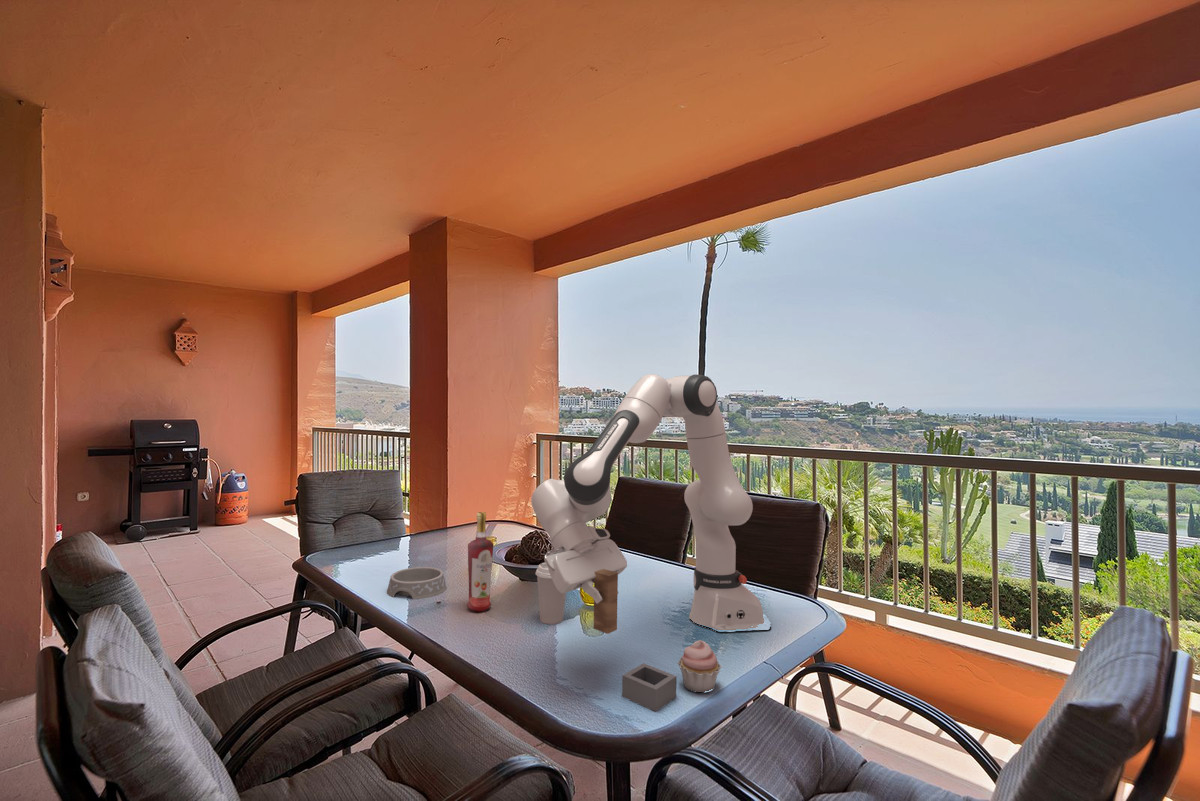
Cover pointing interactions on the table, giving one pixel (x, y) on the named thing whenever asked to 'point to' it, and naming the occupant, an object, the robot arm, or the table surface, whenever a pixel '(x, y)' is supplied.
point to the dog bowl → (417, 582)
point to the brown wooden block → (606, 601)
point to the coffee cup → (549, 597)
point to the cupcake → (699, 667)
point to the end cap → (649, 686)
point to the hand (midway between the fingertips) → (608, 598)
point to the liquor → (480, 567)
